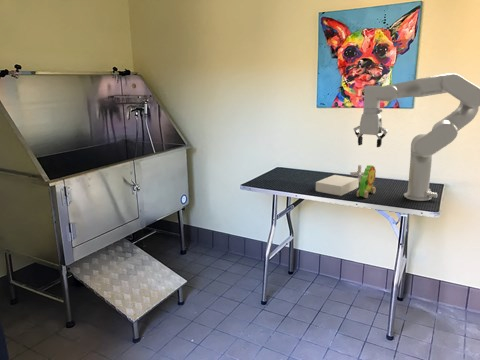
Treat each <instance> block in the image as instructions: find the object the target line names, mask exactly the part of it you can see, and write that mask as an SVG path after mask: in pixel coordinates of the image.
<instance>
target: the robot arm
mask: <svg viewBox="0 0 480 360" xmlns="http://www.w3.org/2000/svg"><path fill="white" fill-rule="evenodd" d="M442 94H448V95H450V96H452V97H454V98H455V99H457V100H458V101H459V104H458V106H457V108H456V109H454V111H452V112H451V113H450V114H448V115H446V116H444V118H442V119H441V120H439V121H437V122H436V123H435V124H434V125H433V126H432V129H431V130H430V131H429V132H428V133H425V134H424V133H420V134H418V135H415V136H414V137H413V139H412V140H411V143H410V157H409V158H410V159H409V171H408V172H409V173H408V184H407V185H408V186H407V191H406V192H405V193H403V197H404V198H406V199H408V200H409V201H410V200H411V201H417V202H424V201H426V202H427V201H431V200H432V198H438V193H437V192H434V191H433V192H432V191H431V188H430V181H431V170H432V161H433V160H432V159H433V155H435V154H436V153H438V152H439V151H441V150H442V149H443V148H446V147H447V146H448V145H451V143H453V141H454V140H455V139H456V138H457V136H458V132H459V131H460V130H462V129H463V128H465V127H466V126H467V125H468V124H470V123H471V122H472V121H473V120H474V119H475V117H476V116H477V114H478V112H479V109H480V87H479V86H478V85H476V84H474V83H473V82H471V81H469V80H468V79H466V78H464V77H463V76H461V75H460V74H458V73H452V72H451V73H445V74H439V75H433V76H428V77H427V76H426V77H421V78H417V79H412V80H408V81H403V82H397V83H391V84H387V85H386V84H385V85H382V86H381V85H380V86H379V85H366V86H365V88H364V93H363V96H364V97H363V111H362V114H361V116H360V121H359V125H357V126H356V127H354V128H353V132H354V134H355V135H356V137H357V145H358V146H362V145H363V135H366V136H367V135H369V136H376V138H377V140H376V148H380V147H382V143H383V142H382V140H383V138H384V137H386V136H387V134H388V132H389V130H388V129H386V128H385V127H383V122H382V121H383V120H382V119H383V118H382V114H380V113H382V112H383V109H381V101H383V102H392V101H395V100H397V99H402V98H412V97H413V98H422V97H428V96H434V95H442ZM358 130H359V131H358Z"/></svg>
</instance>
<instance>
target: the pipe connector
mask: <svg viewBox="0 0 480 360" xmlns="http://www.w3.org/2000/svg"><path fill="white" fill-rule="evenodd" d="M349 173H350V174H349V175H350V176H357V178H358V179H359V184H360V181H361V178H362V176H363V175H364V171H363V172H362V164H358V166H357V171H351V172H349Z"/></svg>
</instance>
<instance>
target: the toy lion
mask: <svg viewBox="0 0 480 360" xmlns="http://www.w3.org/2000/svg"><path fill="white" fill-rule="evenodd" d="M363 172H364V175H362V177H361V181H360V183H359V187H358V188H359V189H358V190H356V197H358V198H360V197H363V198H365V199H367V198H368V197H369V193H371V194H376V191H377V190H376V187H375V186H374V182H375V180H376V179H375V178H376V174H377V173H376V172H377V171H376V166H374V165H366V167H365V168H364V171H363Z"/></svg>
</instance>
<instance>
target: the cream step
mask: <svg viewBox="0 0 480 360" xmlns="http://www.w3.org/2000/svg"><path fill="white" fill-rule="evenodd" d="M358 188H360V183H359V179H358V177H351V176H345V175H340V174H339V175H338V174H333V175H331V176H330V175H329V176H328V177H325V178H322V179H320V180H318V181H315V191H316V192H319V193H323V194H324V193H325V194H328V195H329V194H330V195H335V196H340V197H341V196H343V195H346V194H348V193H350V192H352V191H354V190H357V189H358Z"/></svg>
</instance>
